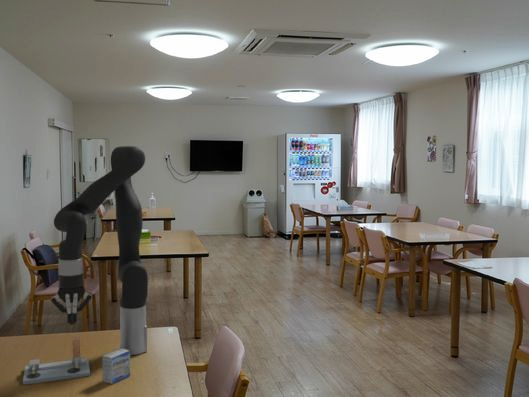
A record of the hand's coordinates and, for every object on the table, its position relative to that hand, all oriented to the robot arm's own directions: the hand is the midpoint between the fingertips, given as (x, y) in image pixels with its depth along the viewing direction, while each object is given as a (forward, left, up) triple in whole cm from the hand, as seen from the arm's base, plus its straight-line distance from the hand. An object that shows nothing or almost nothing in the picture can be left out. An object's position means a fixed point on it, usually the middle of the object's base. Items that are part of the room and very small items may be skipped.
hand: (72, 323), depth 168 cm
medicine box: (-13, +8, -17) cm, 23 cm away
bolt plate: (+5, -3, -17) cm, 18 cm away
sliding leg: (-1, -3, -15) cm, 16 cm away
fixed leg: (+12, -3, -15) cm, 20 cm away
